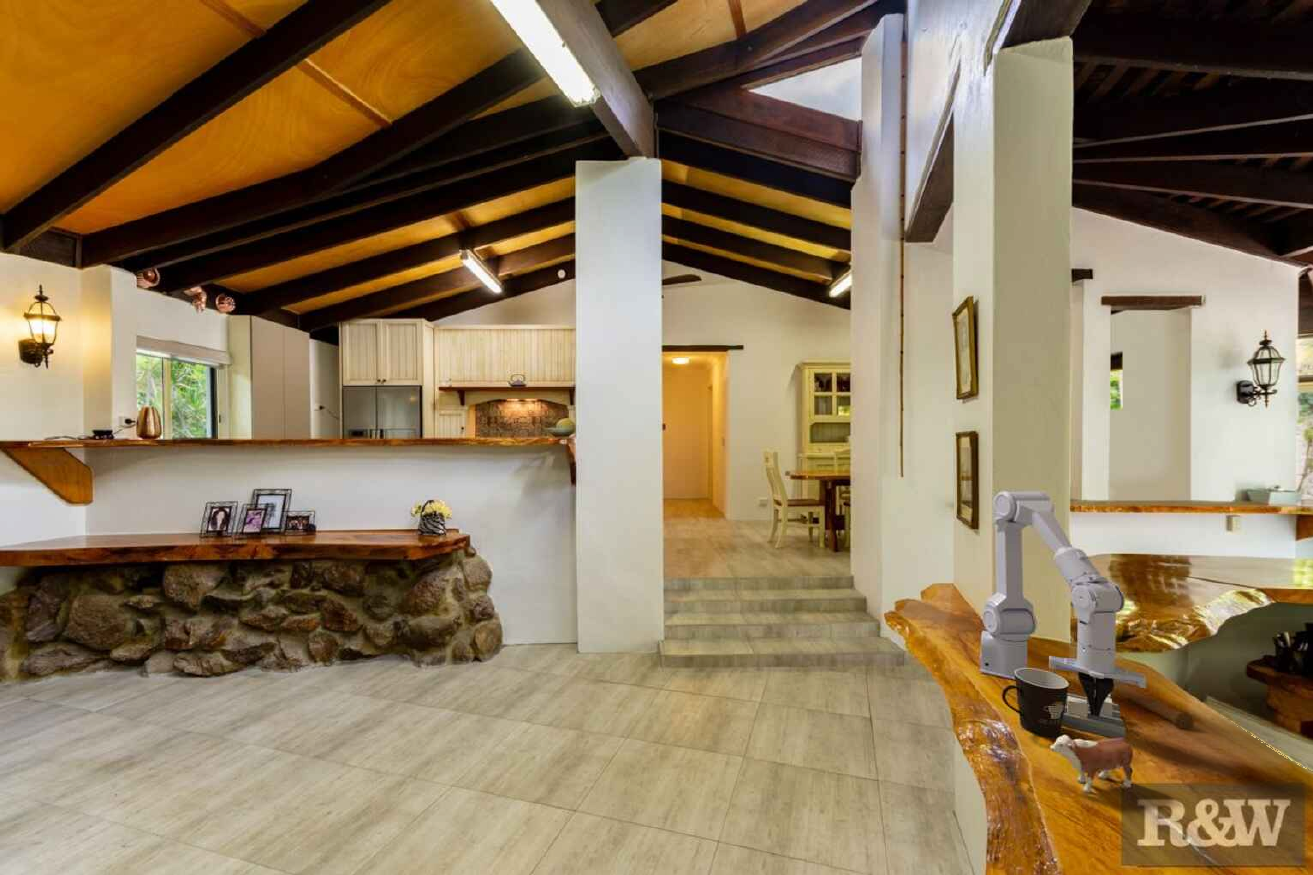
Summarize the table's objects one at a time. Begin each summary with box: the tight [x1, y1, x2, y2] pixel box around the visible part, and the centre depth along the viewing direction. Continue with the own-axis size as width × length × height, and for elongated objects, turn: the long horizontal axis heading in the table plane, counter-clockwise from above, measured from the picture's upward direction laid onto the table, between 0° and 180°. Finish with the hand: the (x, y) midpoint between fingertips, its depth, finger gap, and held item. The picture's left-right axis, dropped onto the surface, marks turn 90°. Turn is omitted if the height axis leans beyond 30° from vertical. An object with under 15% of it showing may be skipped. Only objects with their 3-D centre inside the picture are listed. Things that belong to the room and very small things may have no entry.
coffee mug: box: [1001, 667, 1069, 739], centre depth 106 cm, size 12×9×10 cm
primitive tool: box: [1112, 681, 1195, 730], centre depth 115 cm, size 19×6×4 cm, turn 1°
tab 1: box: [1067, 696, 1088, 719], centre depth 107 cm, size 3×2×3 cm
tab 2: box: [1100, 697, 1114, 717], centre depth 108 cm, size 3×2×3 cm
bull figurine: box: [1050, 734, 1134, 795], centre depth 89 cm, size 4×13×8 cm, turn 95°
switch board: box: [1062, 692, 1127, 740], centre depth 109 cm, size 10×11×2 cm
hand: (1094, 713), depth 106 cm, fingers closed
